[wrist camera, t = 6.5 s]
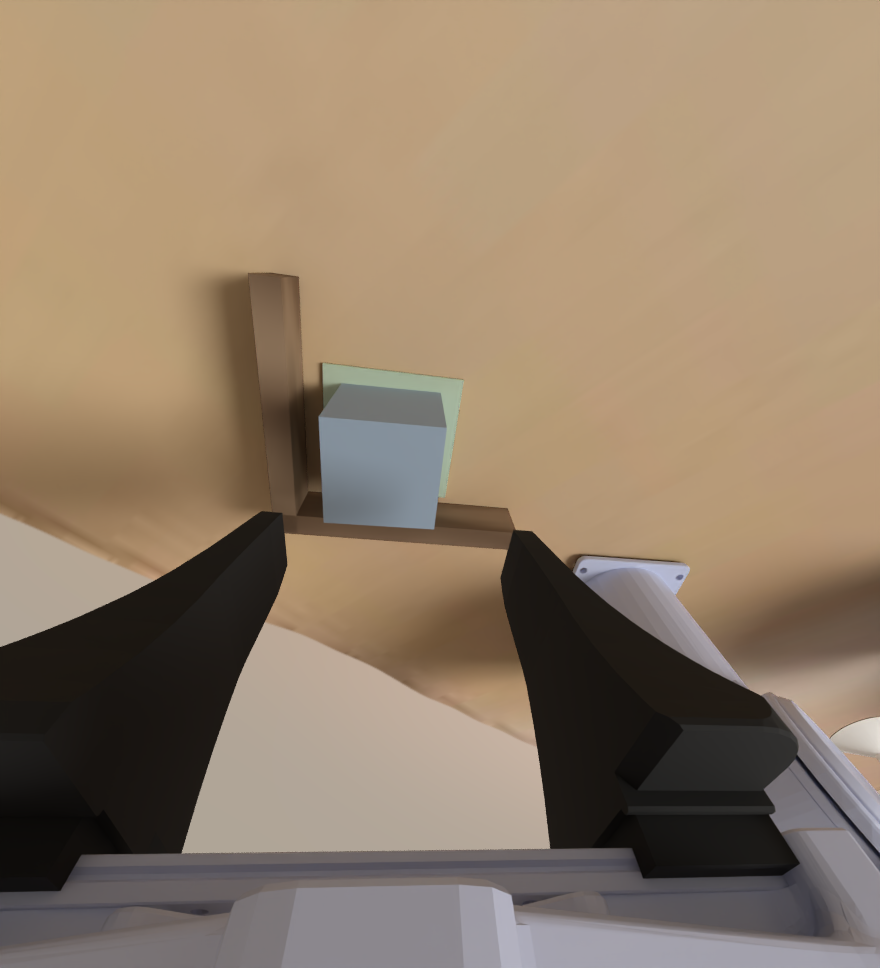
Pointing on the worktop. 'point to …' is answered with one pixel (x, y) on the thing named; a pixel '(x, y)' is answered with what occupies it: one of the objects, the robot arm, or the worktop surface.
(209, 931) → the robot arm
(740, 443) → the worktop surface
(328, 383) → the pad
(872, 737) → the champagne flute
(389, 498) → the cube
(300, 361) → the wooden l-bracket
